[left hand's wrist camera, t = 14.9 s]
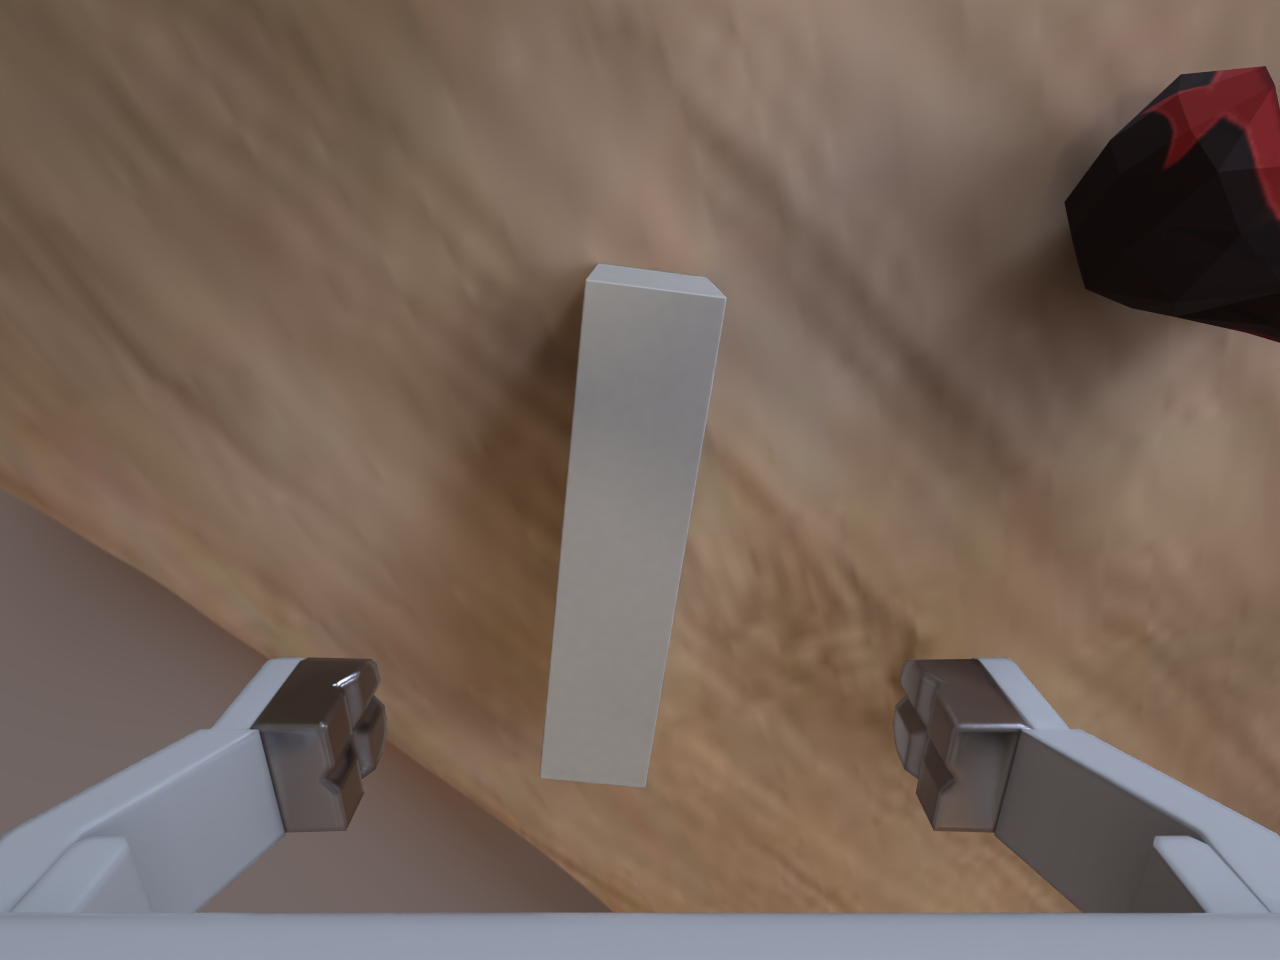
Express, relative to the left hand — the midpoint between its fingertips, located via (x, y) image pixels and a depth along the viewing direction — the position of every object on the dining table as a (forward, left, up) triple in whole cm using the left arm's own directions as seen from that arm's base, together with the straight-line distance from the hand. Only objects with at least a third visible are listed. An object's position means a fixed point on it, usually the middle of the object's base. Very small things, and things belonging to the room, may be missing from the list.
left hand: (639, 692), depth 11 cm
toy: (-19, +18, -25) cm, 36 cm away
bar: (+7, +3, -25) cm, 26 cm away
